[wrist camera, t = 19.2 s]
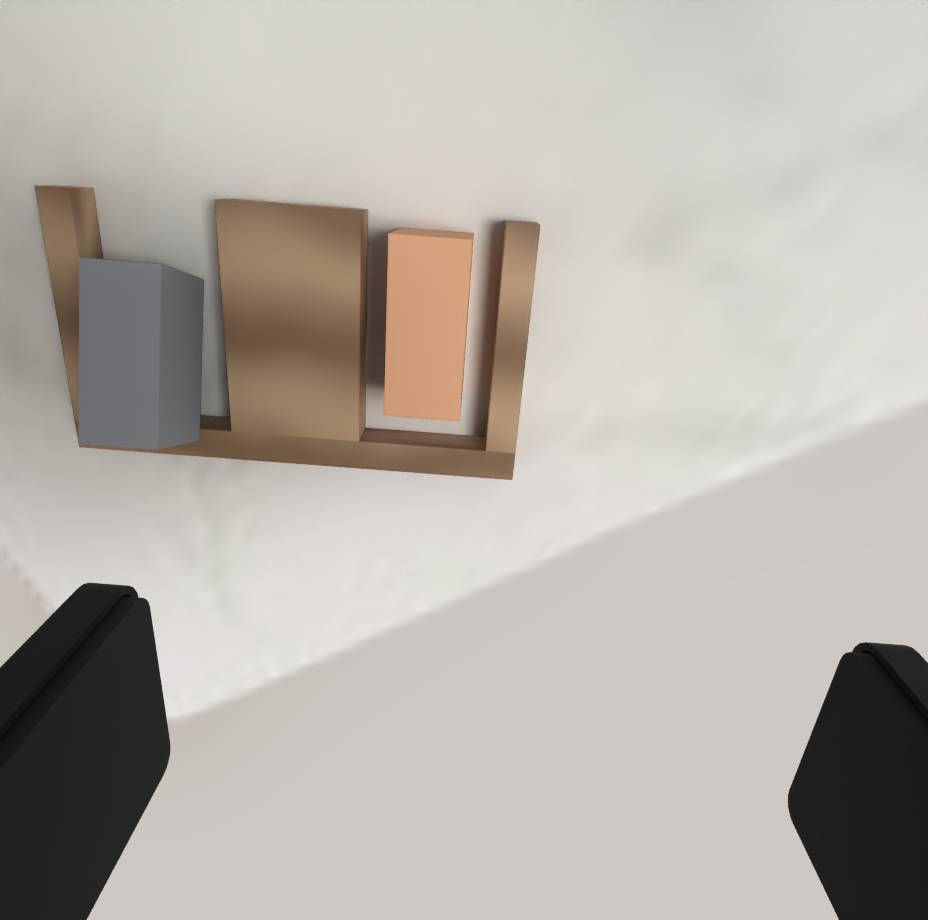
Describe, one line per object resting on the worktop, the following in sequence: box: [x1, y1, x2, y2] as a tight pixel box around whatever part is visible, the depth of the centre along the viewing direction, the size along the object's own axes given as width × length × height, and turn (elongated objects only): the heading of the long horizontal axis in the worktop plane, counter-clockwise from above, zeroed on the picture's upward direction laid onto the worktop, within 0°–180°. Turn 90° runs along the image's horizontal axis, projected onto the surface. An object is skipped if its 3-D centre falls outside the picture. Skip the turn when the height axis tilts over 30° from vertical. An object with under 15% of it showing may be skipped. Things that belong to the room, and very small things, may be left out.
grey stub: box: [79, 258, 204, 450], centre depth 30 cm, size 8×4×4 cm, turn 176°
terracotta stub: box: [384, 228, 474, 421], centre depth 31 cm, size 8×4×4 cm, turn 176°
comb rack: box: [35, 186, 540, 480], centre depth 32 cm, size 12×22×2 cm, turn 86°
